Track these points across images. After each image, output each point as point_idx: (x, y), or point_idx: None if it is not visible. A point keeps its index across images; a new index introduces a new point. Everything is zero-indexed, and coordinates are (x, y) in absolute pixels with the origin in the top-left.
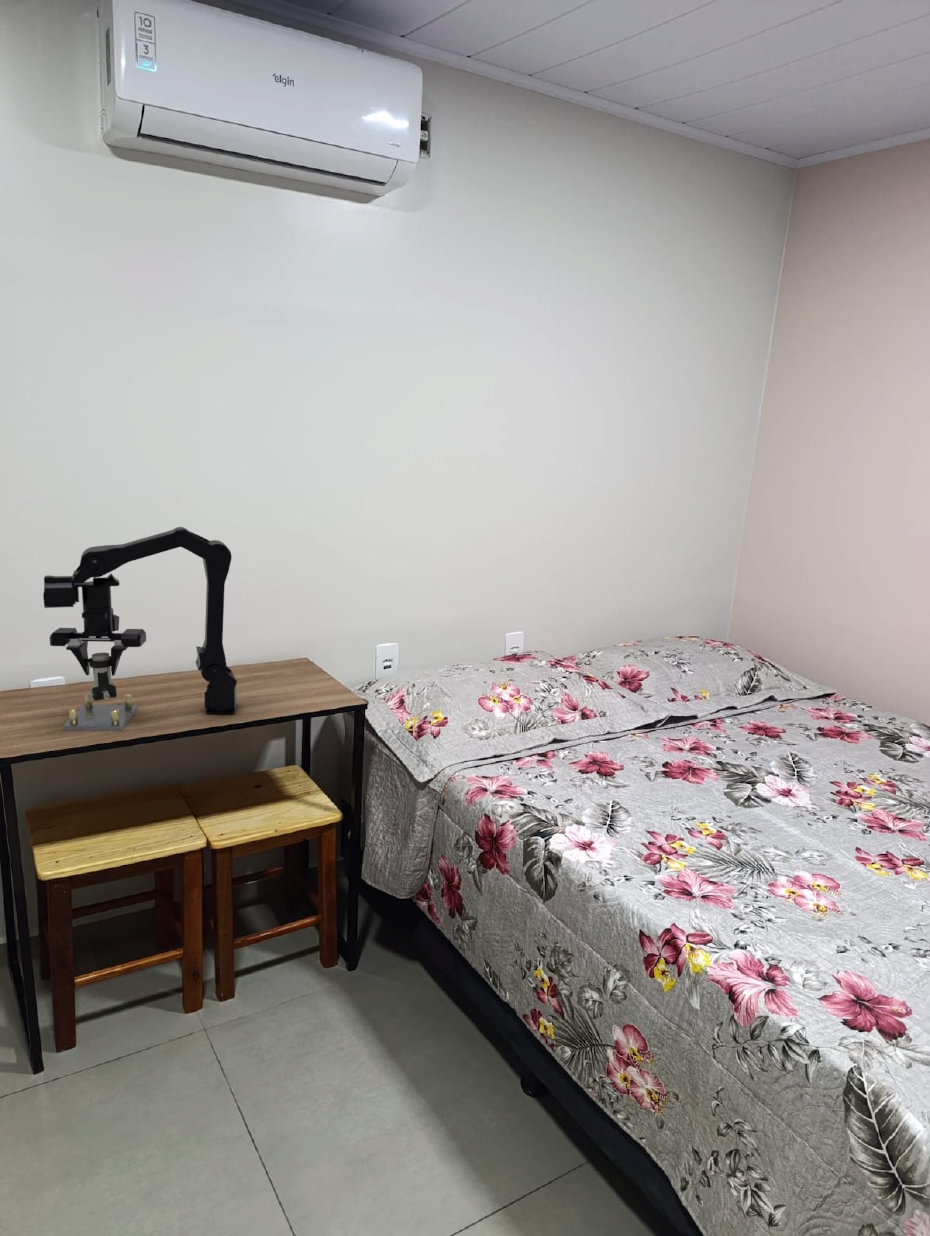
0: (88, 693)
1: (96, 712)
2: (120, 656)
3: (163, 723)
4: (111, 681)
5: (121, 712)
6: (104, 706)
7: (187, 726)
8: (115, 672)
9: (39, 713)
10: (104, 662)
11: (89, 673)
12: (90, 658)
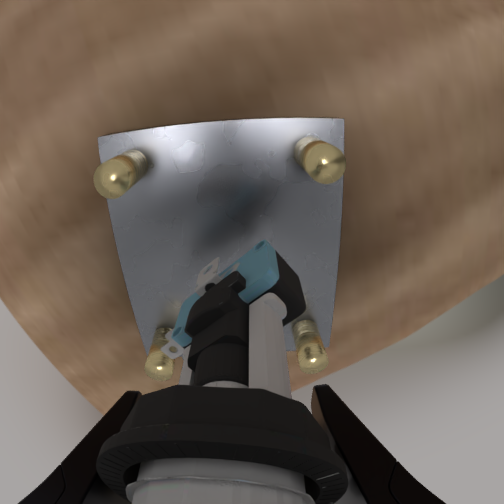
0: (104, 164)
1: (193, 231)
2: (415, 489)
3: (436, 267)
4: (275, 300)
5: (298, 222)
6: (197, 151)
7: (484, 281)
8: (334, 396)
9: (5, 215)
10: None
11: (139, 395)
12: (106, 475)
